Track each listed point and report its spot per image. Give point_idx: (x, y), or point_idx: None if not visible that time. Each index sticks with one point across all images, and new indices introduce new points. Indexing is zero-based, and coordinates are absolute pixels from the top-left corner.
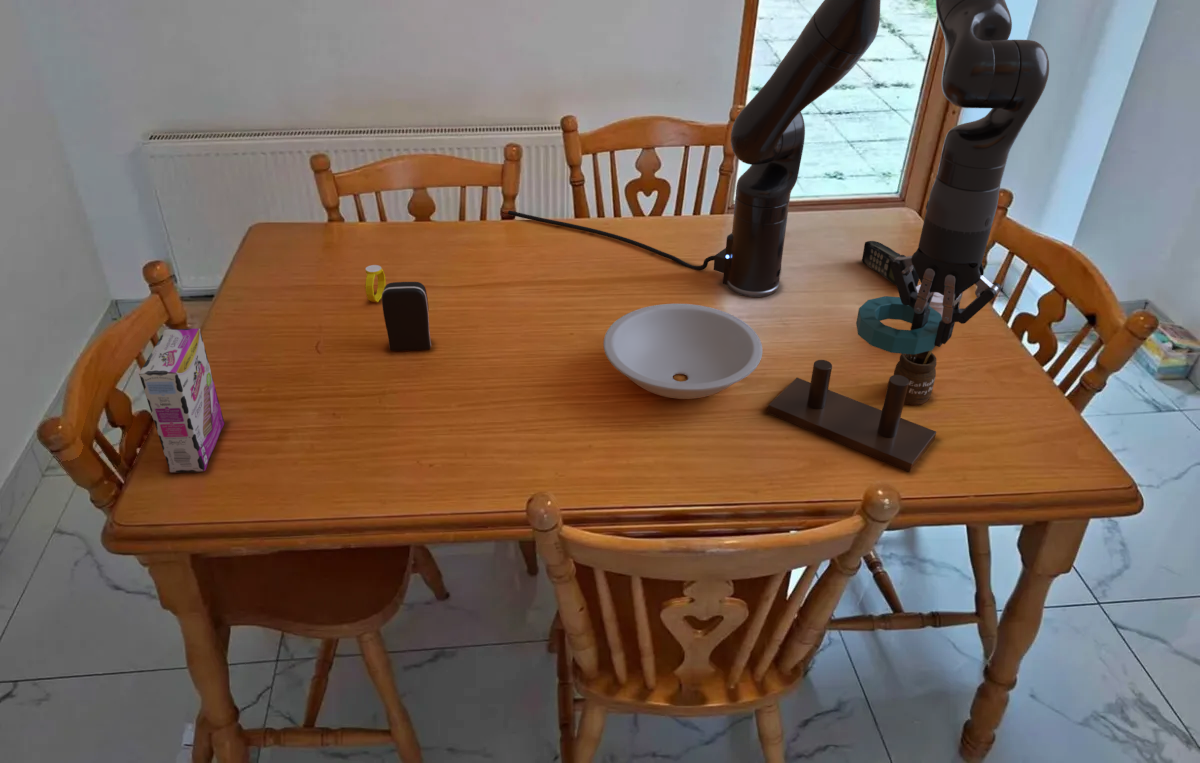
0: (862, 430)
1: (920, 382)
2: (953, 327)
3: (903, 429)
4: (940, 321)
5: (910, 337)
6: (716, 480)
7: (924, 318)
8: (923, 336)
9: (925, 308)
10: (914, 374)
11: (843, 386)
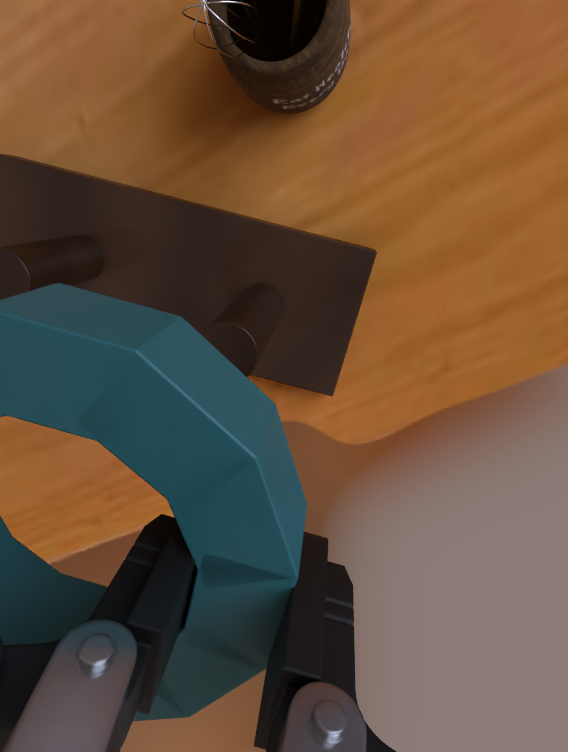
0: (209, 320)
1: (305, 94)
2: (353, 643)
3: (297, 278)
4: (259, 742)
5: (153, 719)
6: (34, 515)
7: (162, 668)
8: (209, 701)
9: (121, 746)
10: (278, 83)
11: (116, 98)
